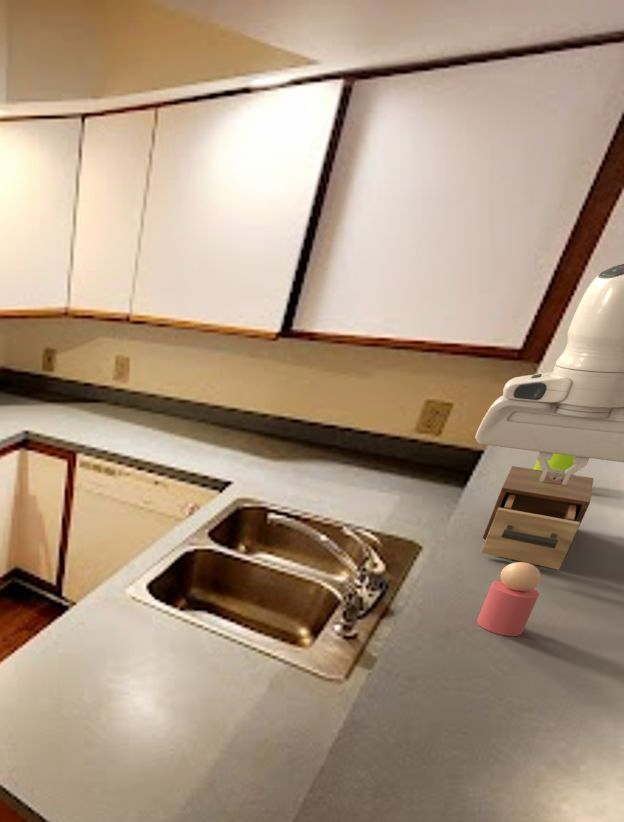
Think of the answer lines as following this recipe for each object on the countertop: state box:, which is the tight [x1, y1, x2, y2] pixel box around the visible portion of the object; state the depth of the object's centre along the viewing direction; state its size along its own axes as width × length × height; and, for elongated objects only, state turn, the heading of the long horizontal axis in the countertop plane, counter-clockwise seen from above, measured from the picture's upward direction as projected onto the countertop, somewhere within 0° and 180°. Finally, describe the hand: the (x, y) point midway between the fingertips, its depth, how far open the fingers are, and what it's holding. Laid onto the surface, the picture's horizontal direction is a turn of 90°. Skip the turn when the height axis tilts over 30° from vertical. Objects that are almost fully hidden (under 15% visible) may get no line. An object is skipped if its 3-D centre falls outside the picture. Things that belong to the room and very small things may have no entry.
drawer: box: [480, 493, 581, 571], centre depth 100 cm, size 18×9×8 cm, turn 134°
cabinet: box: [482, 466, 594, 556], centre depth 107 cm, size 14×10×9 cm
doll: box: [476, 561, 542, 637], centre depth 82 cm, size 5×5×10 cm
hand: (552, 482), depth 92 cm, fingers closed
